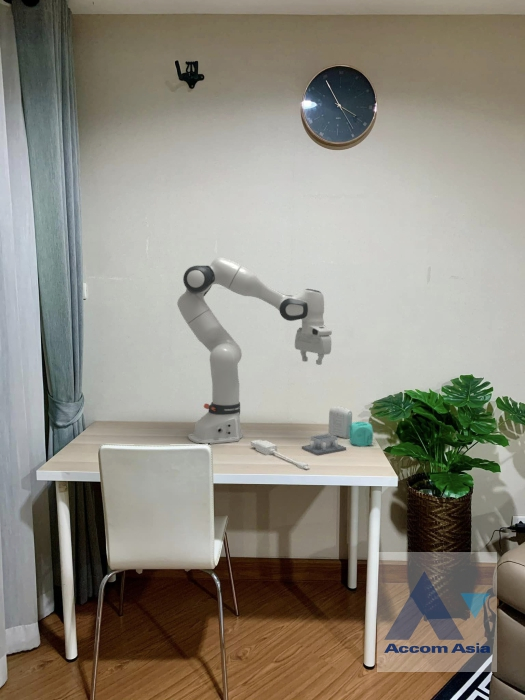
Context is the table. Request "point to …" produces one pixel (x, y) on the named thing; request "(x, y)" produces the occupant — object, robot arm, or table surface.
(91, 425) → the table surface
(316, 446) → the block
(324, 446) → the peg board
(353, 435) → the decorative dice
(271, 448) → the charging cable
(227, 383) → the robot arm
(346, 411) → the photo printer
